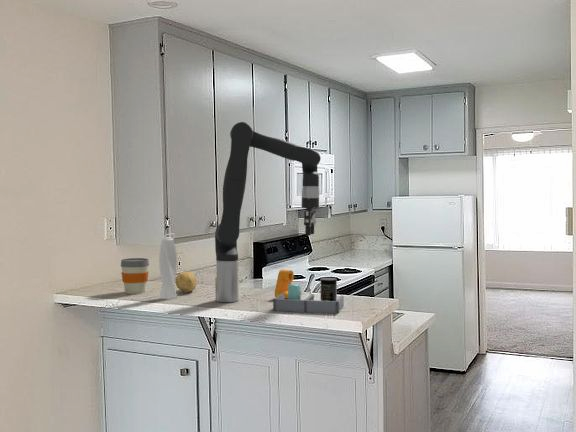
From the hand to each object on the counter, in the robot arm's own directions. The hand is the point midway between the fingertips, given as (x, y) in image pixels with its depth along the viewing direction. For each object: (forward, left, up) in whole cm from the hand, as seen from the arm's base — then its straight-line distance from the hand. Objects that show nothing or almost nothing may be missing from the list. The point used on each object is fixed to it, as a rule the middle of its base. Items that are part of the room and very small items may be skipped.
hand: (309, 234), depth 267 cm
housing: (-8, -21, -27) cm, 36 cm away
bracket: (-8, +5, -28) cm, 29 cm away
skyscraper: (-58, +19, -28) cm, 67 cm away
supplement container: (+3, -15, -28) cm, 32 cm away
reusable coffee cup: (-71, +39, -28) cm, 86 cm away
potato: (-48, +33, -28) cm, 65 cm away
